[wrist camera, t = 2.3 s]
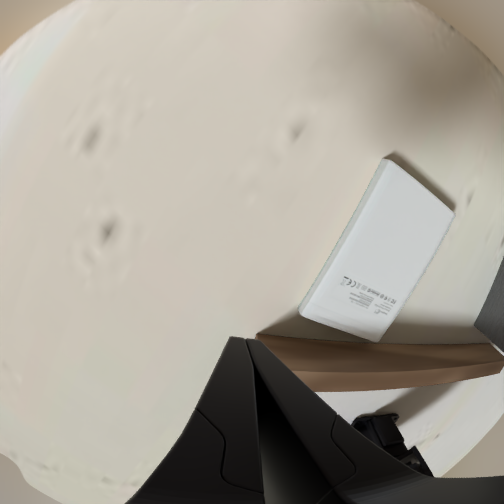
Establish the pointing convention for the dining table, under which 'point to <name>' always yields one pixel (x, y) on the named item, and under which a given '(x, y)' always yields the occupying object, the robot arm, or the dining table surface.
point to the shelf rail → (381, 363)
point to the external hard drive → (379, 255)
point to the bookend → (494, 312)
